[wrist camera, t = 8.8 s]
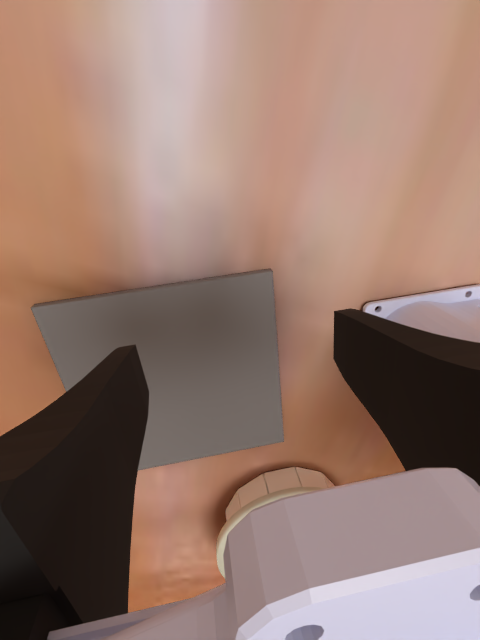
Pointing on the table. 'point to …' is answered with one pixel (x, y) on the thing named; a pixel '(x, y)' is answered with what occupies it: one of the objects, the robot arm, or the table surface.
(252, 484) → the bowl
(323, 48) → the table surface
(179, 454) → the mat
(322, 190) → the table surface
